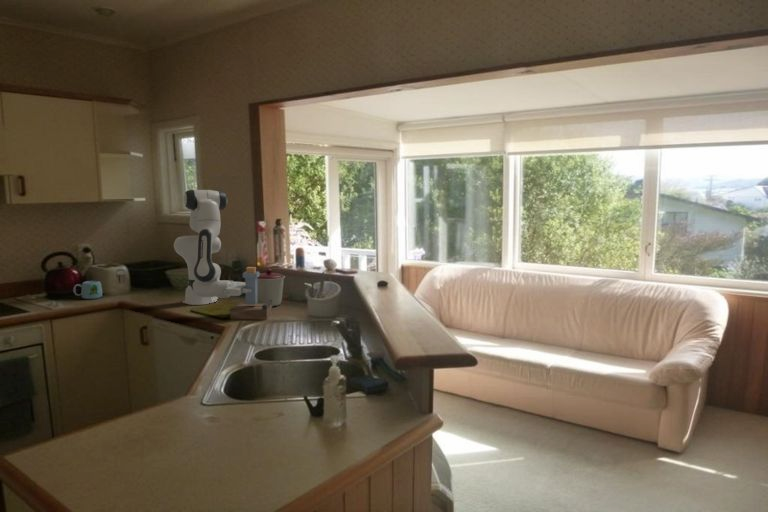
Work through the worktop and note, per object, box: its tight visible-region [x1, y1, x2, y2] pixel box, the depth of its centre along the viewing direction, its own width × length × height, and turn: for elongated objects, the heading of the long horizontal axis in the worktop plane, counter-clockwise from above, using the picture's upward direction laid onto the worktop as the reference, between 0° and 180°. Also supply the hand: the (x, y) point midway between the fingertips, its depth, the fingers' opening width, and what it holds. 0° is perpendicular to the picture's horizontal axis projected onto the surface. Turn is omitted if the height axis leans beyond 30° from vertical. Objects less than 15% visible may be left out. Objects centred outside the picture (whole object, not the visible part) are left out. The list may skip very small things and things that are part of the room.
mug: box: [72, 280, 103, 300], centre depth 300 cm, size 15×11×10 cm
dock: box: [229, 300, 273, 320], centre depth 260 cm, size 16×18×7 cm
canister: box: [257, 268, 286, 308], centre depth 286 cm, size 18×18×21 cm
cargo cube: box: [245, 266, 257, 273], centre depth 258 cm, size 4×4×4 cm
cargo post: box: [242, 271, 260, 305], centre depth 259 cm, size 7×7×16 cm
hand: (253, 289), depth 259 cm, fingers closed on cargo post, 5 cm apart
